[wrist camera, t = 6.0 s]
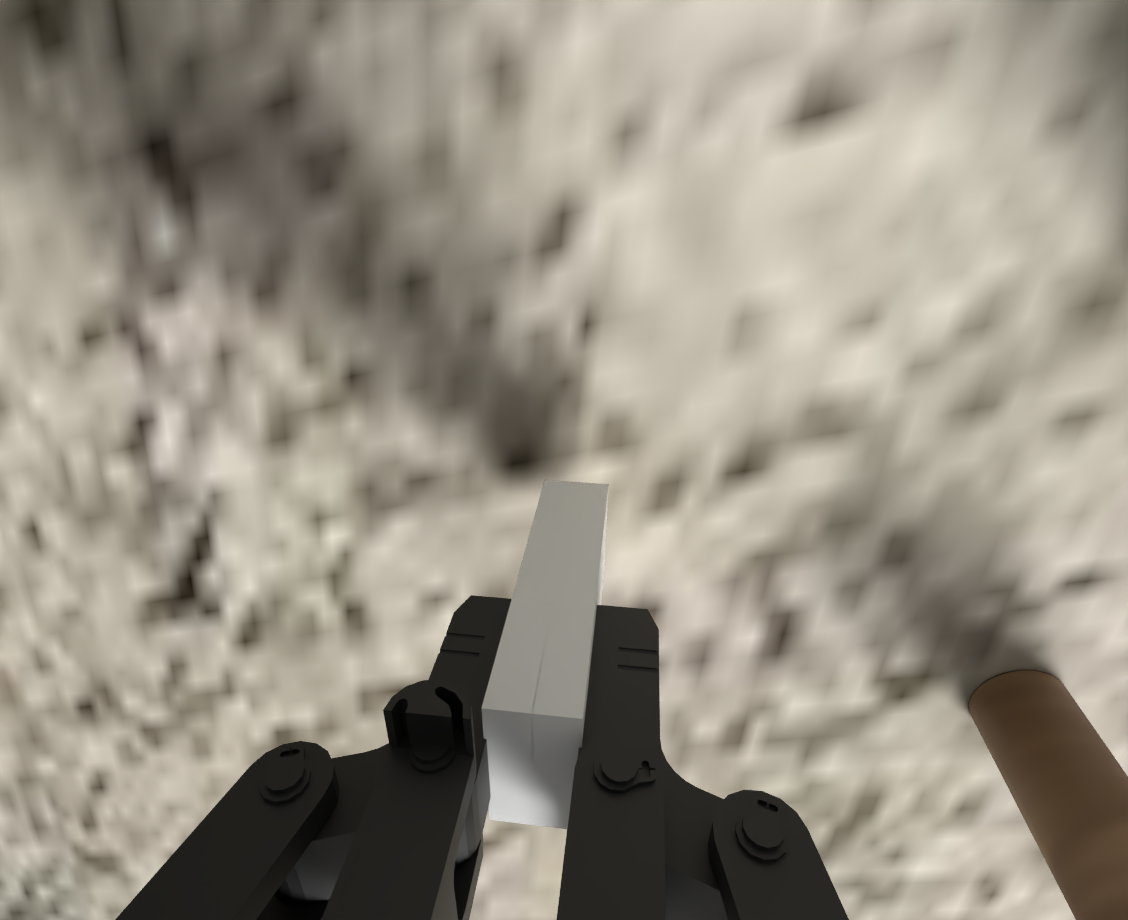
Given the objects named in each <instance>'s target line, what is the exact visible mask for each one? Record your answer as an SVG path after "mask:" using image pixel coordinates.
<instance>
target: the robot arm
mask: <svg viewBox="0 0 1128 920" xmlns="http://www.w3.org/2000/svg"><path fill="white" fill-rule="evenodd" d="M608 485H609V484H595V483H581V482H566V481H552V480H544V484H543V488H542V491H541V495H540V499H539V502H538V506H537V509H536V513H535V517H534V520H533V524H532V527H531V531H530V535H529V538H528V542H527V546H526V549H525V553H524V556H523V560H522V564H521V567H520V571H519V574H518V578H517V582H516V585H515V589H514V593H513V596H512V599H506V598H495V597H483V596H472V595H471V596H470V597H469V598H468V599H467V600H466V601H465V602H464V603H463V604H462V605H461V606H460V607H459V608H458V609H457V610H456V611H455V612H454V614H453V617H452V620H451V622H450V625H449V628H448V630H447V635H446V637H445V638H444V641H443V643H442V646H441V649H440V653H439V654H438V657H437V659H436V662H435V664H434V667H433V670H432V672H431V675H430V678H429V680H424V681H420V682H417V683H415V684H412V685H409V686H406V687H405V688H403V689H402V690H401V691H399V692H398V693H397V694H395V695H394V696H393V697H392V698H391V700H390V701H389V702H388V704H387V705H386V707H385V708H384V710H383V711H384V717H385V722H386V728H387V733H388V739H389V743H388V744H386V745H384V746H382V747H380V748H378V749H375V750H371V751H368V752H364V753H359V754H353V755H348V756H343V757H338V758H332V759H331V757H330V755H329V753H328V751H327V750H325V749H324V748H322V747H321V746H319V745H318V744H316V743H310V742H303V741H299V742H293V743H288V744H283V745H281V746H279V747H277V748H275V749H273V750H271V751H268V752H266V753H265V754H264V755H263V756H261V757H260V758H259V759H258V760H257V761H256V762H255V763H253V764H252V765H251V766H250V767H249V768H248V769H247V771H246V772H245V773H244V774H243V775H242V776H241V777H240V779H239V780H238V781H237V782H236V783H235V784H234V785H233V787H232V788H231V789H230V790H229V791H228V792H227V793H226V794H225V796H224V797H223V798H222V799H221V800H220V801H219V802H218V804H217V805H216V806H215V807H214V808H213V809H212V810H211V812H210V813H209V814H208V815H207V816H206V817H205V818H204V820H203V821H202V822H201V823H200V824H199V825H198V826H197V827H196V829H195V830H194V831H193V832H192V833H191V834H190V835H189V837H188V838H187V839H186V840H185V841H184V842H183V843H182V845H181V846H180V847H179V848H178V849H177V850H176V851H175V852H174V854H173V855H172V856H171V857H170V858H169V859H168V860H167V862H166V863H165V864H164V865H163V866H162V867H161V868H160V870H159V871H158V872H157V873H156V874H155V875H154V876H153V878H152V879H151V880H150V881H149V882H148V883H147V884H146V885H145V887H144V888H143V889H142V890H141V891H140V892H139V893H138V895H137V896H136V897H135V898H134V899H133V900H132V901H131V903H130V904H129V905H128V906H127V907H126V908H125V909H124V910H123V912H122V913H121V914H120V915H119V916H118V917H117V918H116V920H469V917H470V912H471V908H472V903H473V899H474V894H475V889H476V885H477V880H478V876H479V871H480V867H481V862H482V857H483V833H482V832H483V828H484V823H485V819H486V815H487V810H488V806H489V816H490V820H497V821H505V822H513V823H522V824H530V825H538V826H546V827H555V828H563V829H567V837H566V845H565V854H564V862H563V871H562V879H561V888H560V897H559V905H558V914H557V920H849V919H848V917H847V915H846V912H845V910H844V908H843V906H842V904H841V901H840V899H839V897H838V895H837V893H836V890H835V888H834V886H833V884H832V882H831V879H830V877H829V875H828V873H827V871H826V868H825V866H824V864H823V862H822V860H821V857H820V855H819V853H818V851H817V849H816V846H815V844H814V842H813V840H812V838H811V835H810V833H809V831H808V829H807V827H806V826H805V824H804V823H803V821H802V820H801V818H800V817H799V815H798V814H797V812H796V811H795V810H793V809H792V808H791V807H790V806H788V805H787V804H786V803H785V802H784V801H782V800H781V799H780V798H777V797H775V796H772V795H770V794H768V793H765V792H763V791H753V790H742V791H739V792H736V793H733V794H730V795H728V796H727V797H726V798H725V799H722V798H720V797H717V796H715V795H713V794H710V793H708V792H706V791H704V790H701V789H699V788H697V787H695V786H693V785H692V784H690V783H688V782H686V781H685V780H684V779H683V778H681V777H680V776H679V775H678V774H677V773H676V772H675V771H674V770H673V769H672V768H671V766H670V765H669V764H668V762H667V761H666V758H665V756H664V754H663V752H662V749H661V742H660V708H659V629H658V627H657V626H656V624H655V622H654V620H653V618H652V616H651V615H650V613H649V611H648V609H638V608H627V607H615V606H604V605H601V599H602V589H603V579H604V562H605V543H606V523H607V504H608Z"/></svg>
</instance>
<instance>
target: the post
mask: <svg viewBox="0 0 1128 920" xmlns="http://www.w3.org/2000/svg"><path fill="white" fill-rule="evenodd" d="M969 711H970V714H971V716H972V718H973V720H974V722H975V724H976V726H977V728H978V730H979V732H980V734H981V735H982V737H983V739H984V741H985V743H986V745H987V747H988V749H989V751H990V753H991V755H992V757H993V759H994V761H995V763H996V765H997V767H998V769H999V771H1000V772H1001V774H1002V776H1003V778H1004V780H1005V782H1006V784H1007V786H1008V788H1009V790H1010V792H1011V794H1012V796H1013V798H1014V800H1015V802H1016V804H1017V806H1018V808H1019V810H1020V811H1021V813H1022V815H1023V817H1024V819H1025V821H1026V823H1027V825H1028V827H1029V829H1030V831H1031V833H1032V835H1033V837H1034V839H1035V841H1036V843H1037V845H1038V847H1039V848H1040V850H1041V852H1042V854H1043V856H1044V858H1045V860H1046V862H1047V864H1048V866H1049V868H1050V870H1051V872H1052V874H1053V876H1054V878H1055V880H1056V882H1057V884H1058V885H1059V887H1060V889H1061V891H1062V893H1063V895H1064V897H1065V899H1066V901H1067V903H1068V905H1069V907H1070V909H1071V911H1072V913H1073V915H1074V917H1075V919H1076V920H1128V776H1127V775H1126V773H1125V772H1124V771H1123V769H1122V768H1121V766H1120V765H1119V763H1118V762H1117V761H1116V759H1115V758H1114V756H1113V755H1112V753H1111V752H1110V750H1109V749H1108V748H1107V746H1106V745H1105V743H1104V742H1103V740H1102V739H1101V738H1100V736H1099V735H1098V733H1097V732H1096V730H1095V729H1094V728H1093V726H1092V725H1091V723H1090V722H1089V720H1088V719H1087V717H1086V716H1085V715H1084V713H1083V712H1082V710H1081V709H1080V707H1079V706H1078V705H1077V703H1076V702H1075V700H1074V699H1073V697H1072V696H1071V694H1070V693H1069V692H1068V690H1067V689H1066V687H1065V686H1064V684H1063V683H1062V682H1061V681H1060V680H1059V679H1057V678H1056V677H1054V676H1052V675H1050V674H1047V673H1043V672H1039V671H1029V670H1025V671H1014V672H1009V673H1005V674H1002V675H999V676H996V677H994V678H992V679H990V680H988V681H986V682H985V683H983V684H982V685H981V686H980V687H979V688H978V689H977V690H976V691H975V692H974V693H973V695H972V697H971V699H970V702H969Z"/></svg>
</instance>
